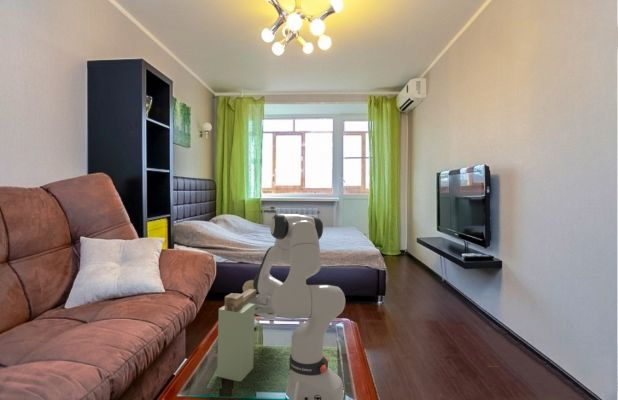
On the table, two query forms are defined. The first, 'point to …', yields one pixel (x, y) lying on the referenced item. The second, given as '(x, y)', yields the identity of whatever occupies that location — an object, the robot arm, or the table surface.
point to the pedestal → (235, 342)
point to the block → (238, 300)
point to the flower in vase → (246, 287)
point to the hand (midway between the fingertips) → (248, 297)
